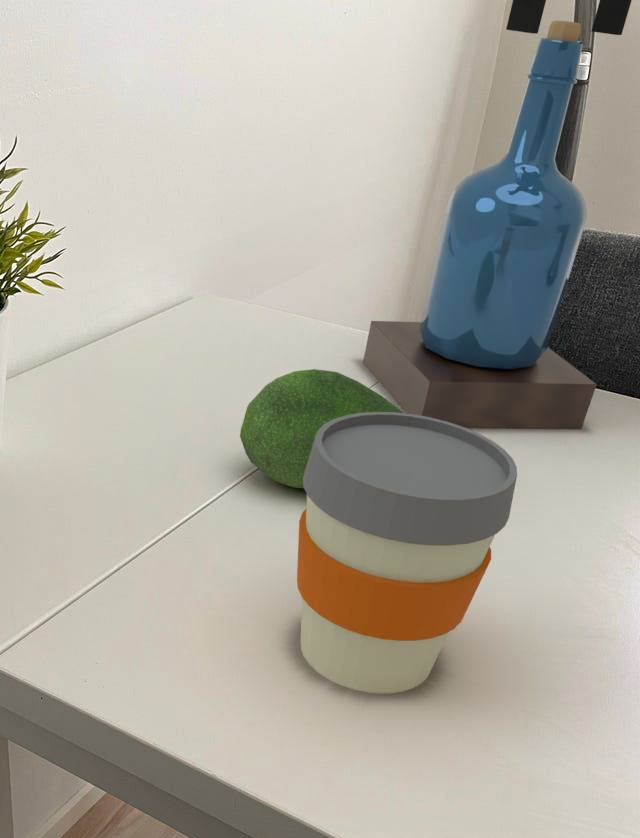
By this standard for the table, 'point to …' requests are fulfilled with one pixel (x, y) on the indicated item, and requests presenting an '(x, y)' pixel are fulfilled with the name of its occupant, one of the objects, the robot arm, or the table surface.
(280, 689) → the table surface
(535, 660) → the table surface
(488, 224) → the wine bottle
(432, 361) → the walnut block
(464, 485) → the reusable coffee cup
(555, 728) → the table surface
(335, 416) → the fruit
